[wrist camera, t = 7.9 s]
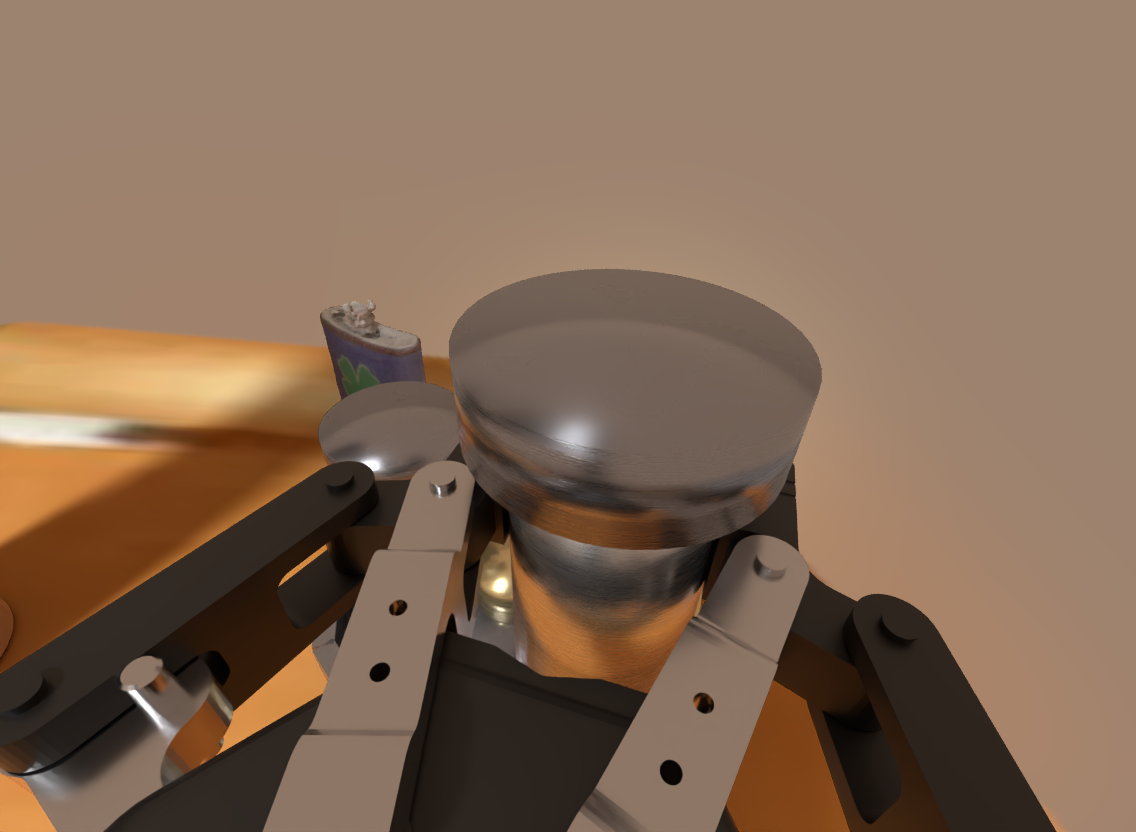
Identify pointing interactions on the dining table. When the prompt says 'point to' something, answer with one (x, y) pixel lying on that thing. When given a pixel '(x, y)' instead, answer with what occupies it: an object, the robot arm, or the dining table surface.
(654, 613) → the silver capped cylinder
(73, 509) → the dining table surface
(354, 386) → the flask
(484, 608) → the carrier
